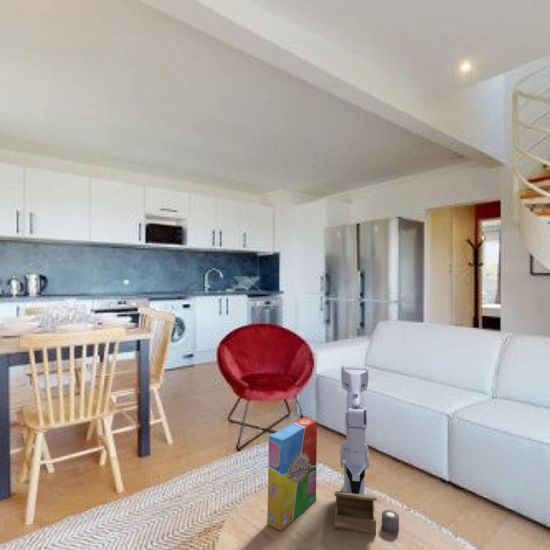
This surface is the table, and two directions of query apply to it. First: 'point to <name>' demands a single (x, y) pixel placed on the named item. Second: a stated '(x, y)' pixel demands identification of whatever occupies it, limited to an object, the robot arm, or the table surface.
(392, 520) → the grey short cylinder
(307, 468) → the game box
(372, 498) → the lid
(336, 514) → the box
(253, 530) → the table surface
